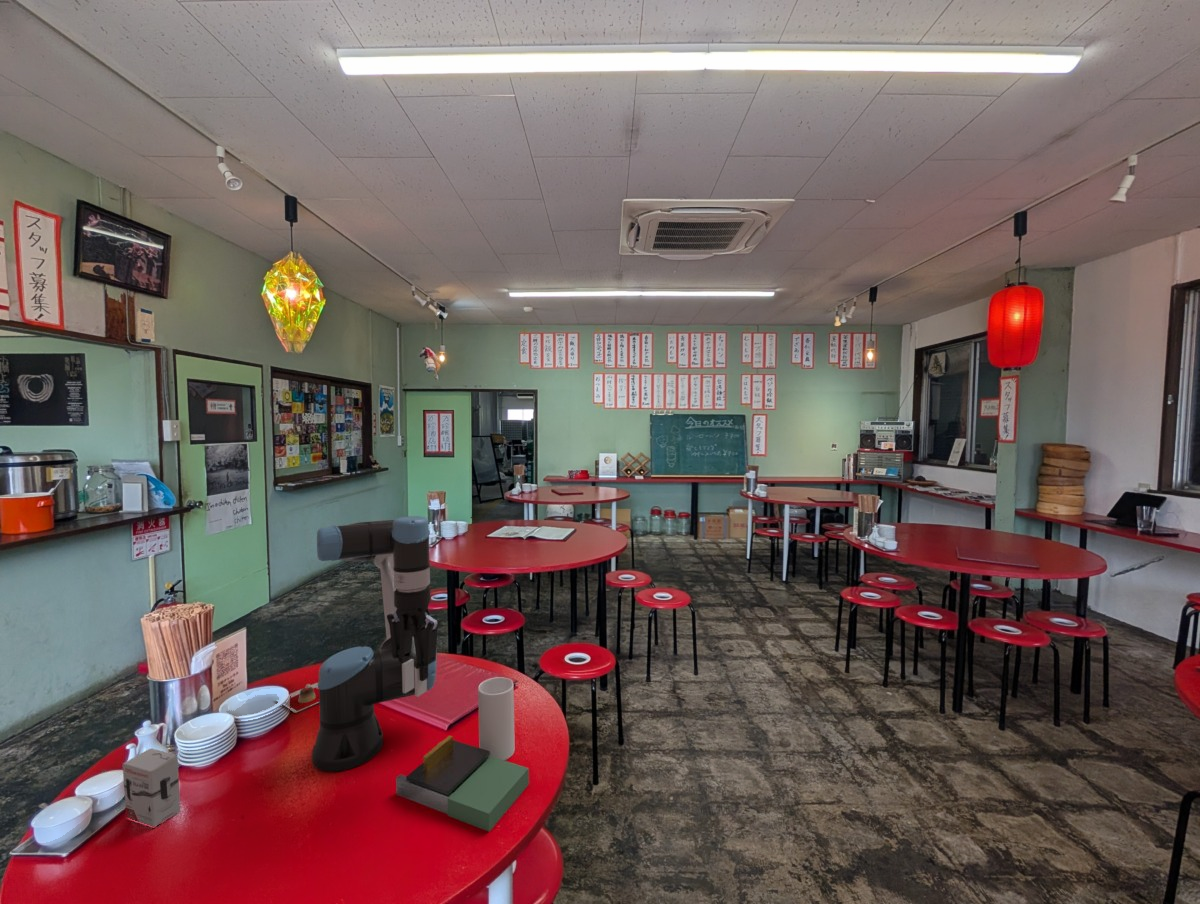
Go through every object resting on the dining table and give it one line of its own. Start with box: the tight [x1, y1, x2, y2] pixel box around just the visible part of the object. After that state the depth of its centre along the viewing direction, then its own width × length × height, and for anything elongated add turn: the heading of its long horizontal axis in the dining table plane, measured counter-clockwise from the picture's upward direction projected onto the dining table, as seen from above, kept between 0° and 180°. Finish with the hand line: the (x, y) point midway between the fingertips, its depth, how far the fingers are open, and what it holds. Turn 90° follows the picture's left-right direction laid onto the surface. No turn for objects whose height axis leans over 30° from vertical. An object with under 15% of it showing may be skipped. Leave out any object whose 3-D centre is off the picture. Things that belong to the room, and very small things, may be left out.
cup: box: [477, 676, 516, 761], centre depth 118 cm, size 8×8×16 cm
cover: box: [405, 735, 490, 795], centre depth 106 cm, size 11×14×4 cm
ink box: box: [122, 748, 181, 827], centre depth 99 cm, size 8×5×12 cm, turn 73°
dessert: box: [289, 682, 319, 714], centre depth 143 cm, size 12×12×5 cm
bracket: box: [395, 741, 490, 815], centre depth 107 cm, size 14×13×4 cm
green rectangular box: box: [447, 757, 530, 832], centre depth 102 cm, size 10×14×4 cm
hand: (414, 691), depth 110 cm, fingers open, 3 cm apart
